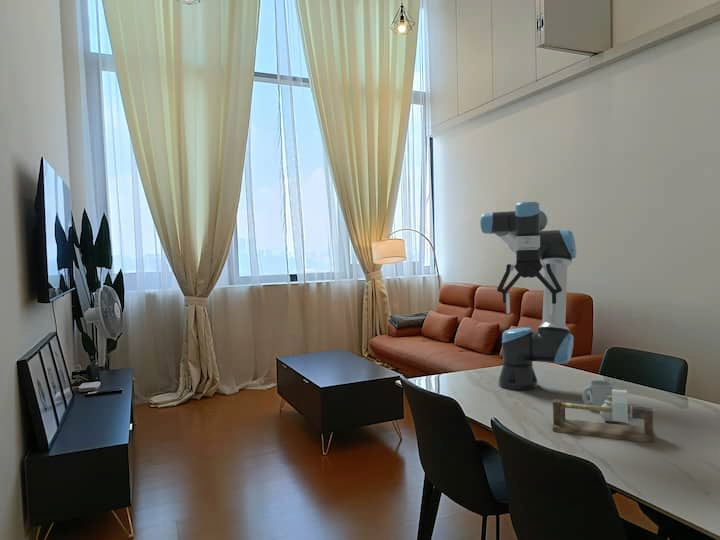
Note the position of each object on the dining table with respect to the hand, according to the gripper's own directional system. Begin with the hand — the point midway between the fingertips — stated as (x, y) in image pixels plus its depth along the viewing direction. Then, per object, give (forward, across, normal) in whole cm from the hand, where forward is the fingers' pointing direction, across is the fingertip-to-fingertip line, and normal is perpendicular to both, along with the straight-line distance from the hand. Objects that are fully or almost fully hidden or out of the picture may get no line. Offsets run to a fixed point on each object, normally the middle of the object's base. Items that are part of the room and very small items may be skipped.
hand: (529, 313), depth 165 cm
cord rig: (+35, +21, -7) cm, 41 cm away
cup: (+35, +20, +16) cm, 43 cm away
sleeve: (+30, +26, -7) cm, 40 cm away
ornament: (+35, +23, +4) cm, 42 cm away
